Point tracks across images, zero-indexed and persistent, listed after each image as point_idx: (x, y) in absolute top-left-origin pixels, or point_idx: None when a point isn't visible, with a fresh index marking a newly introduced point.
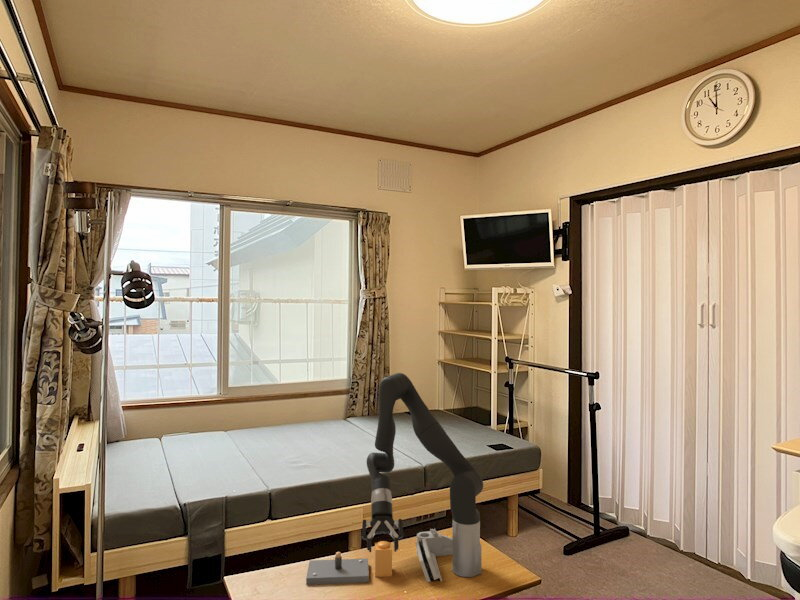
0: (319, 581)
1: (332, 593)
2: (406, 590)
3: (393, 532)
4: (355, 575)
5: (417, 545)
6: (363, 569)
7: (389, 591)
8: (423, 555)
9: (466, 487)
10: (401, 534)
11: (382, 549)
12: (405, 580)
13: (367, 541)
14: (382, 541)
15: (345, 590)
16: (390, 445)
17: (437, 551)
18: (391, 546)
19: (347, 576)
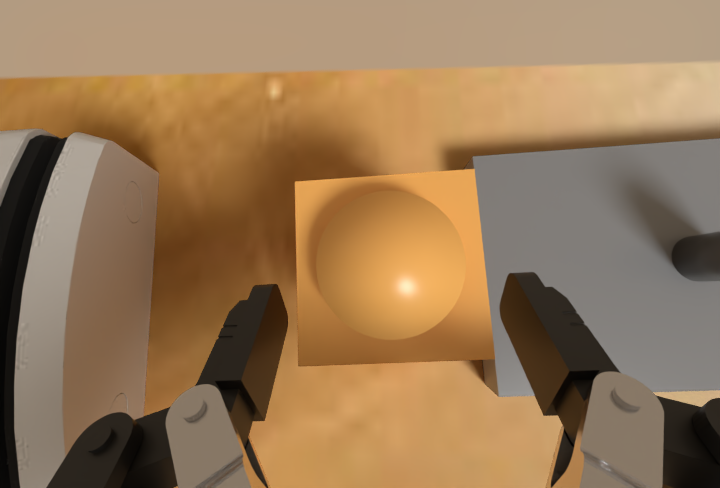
0: None
1: (644, 63)
2: (268, 96)
3: (215, 472)
4: (557, 161)
5: (42, 337)
6: (514, 234)
7: (351, 86)
8: None
9: None
10: (107, 426)
11: (396, 179)
12: (265, 188)
13: (602, 354)
14: (401, 323)
15: (579, 91)
16: None
17: None
18: (297, 251)
19: (607, 148)
